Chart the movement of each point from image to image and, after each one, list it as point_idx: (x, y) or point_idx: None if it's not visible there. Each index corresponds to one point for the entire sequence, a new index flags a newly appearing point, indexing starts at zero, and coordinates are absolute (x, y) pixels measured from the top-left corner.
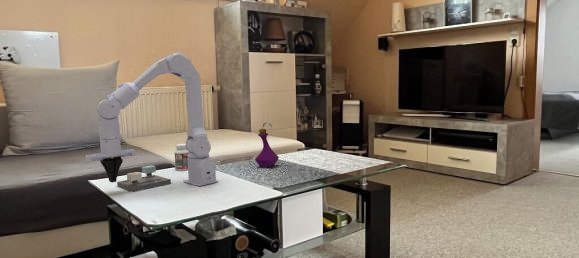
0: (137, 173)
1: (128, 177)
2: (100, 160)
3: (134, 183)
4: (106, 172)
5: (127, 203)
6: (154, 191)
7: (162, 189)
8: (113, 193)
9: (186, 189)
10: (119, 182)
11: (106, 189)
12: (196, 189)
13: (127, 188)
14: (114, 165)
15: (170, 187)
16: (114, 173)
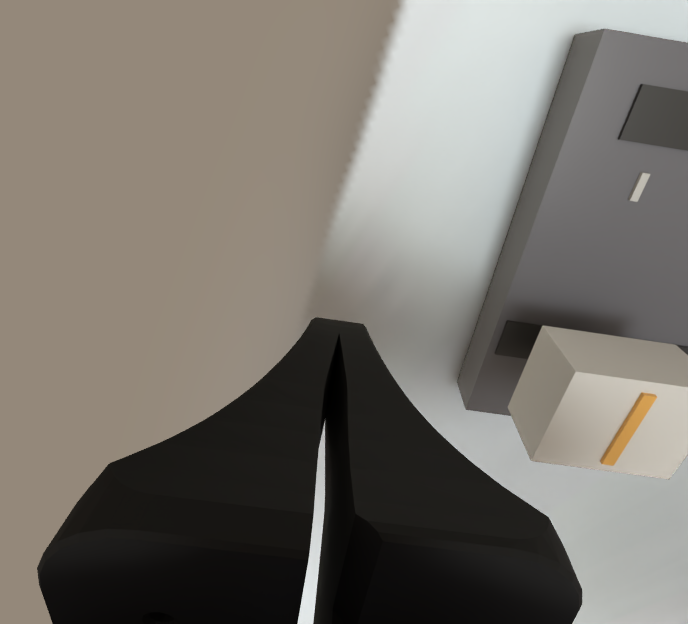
0: (632, 461)
1: (541, 378)
2: (52, 570)
3: (592, 316)
4: (272, 371)
5: None
6: (534, 486)
7: (603, 490)
8: (337, 293)
9: (648, 583)
10: (581, 107)
11: (399, 67)
12: (664, 615)
13: (489, 303)
14: (316, 606)
15: (676, 495)
16: (327, 471)
